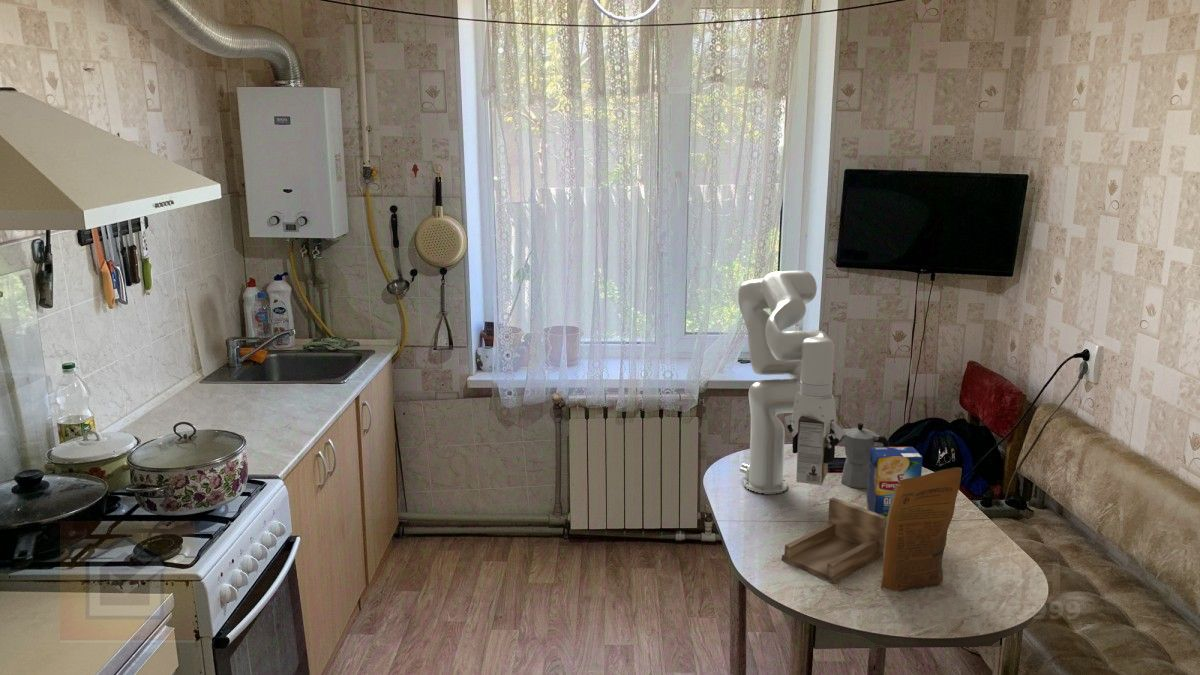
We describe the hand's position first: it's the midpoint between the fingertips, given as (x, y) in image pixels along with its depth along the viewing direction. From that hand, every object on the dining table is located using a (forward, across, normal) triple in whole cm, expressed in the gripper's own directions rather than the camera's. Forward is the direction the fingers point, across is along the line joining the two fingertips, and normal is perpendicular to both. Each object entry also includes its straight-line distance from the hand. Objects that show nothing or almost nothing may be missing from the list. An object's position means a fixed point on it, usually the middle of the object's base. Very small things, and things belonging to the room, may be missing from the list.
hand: (812, 456), depth 219 cm
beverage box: (+23, +10, +20) cm, 32 cm away
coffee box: (+6, 0, 0) cm, 6 cm away
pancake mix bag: (+23, +28, +1) cm, 37 cm away
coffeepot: (+22, -13, +42) cm, 49 cm away
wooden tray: (+23, +9, -2) cm, 24 cm away
